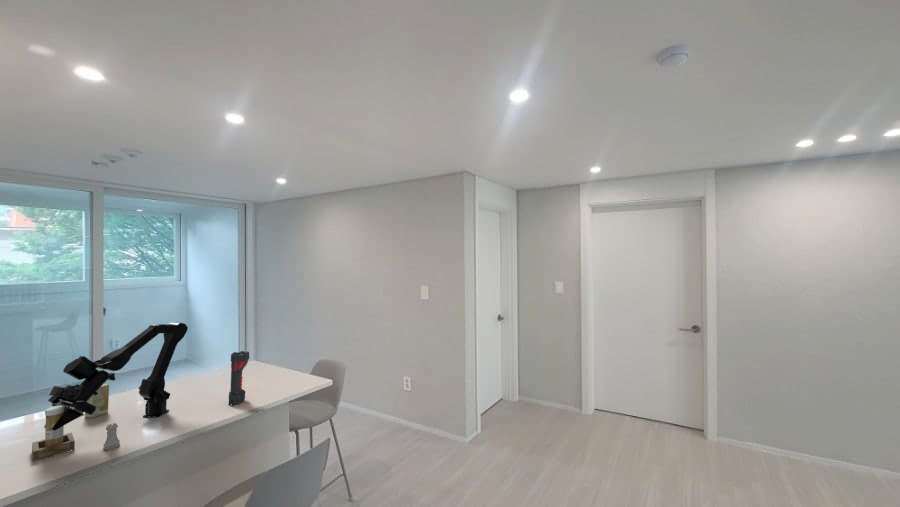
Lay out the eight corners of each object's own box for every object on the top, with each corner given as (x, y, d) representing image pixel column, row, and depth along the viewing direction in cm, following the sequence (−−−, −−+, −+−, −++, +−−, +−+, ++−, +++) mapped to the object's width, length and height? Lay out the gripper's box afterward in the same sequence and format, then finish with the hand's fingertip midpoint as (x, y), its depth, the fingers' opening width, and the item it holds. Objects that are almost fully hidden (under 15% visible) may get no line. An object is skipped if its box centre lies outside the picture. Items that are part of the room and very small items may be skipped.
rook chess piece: (110, 444, 131) (110, 422, 131) (123, 444, 131) (123, 421, 132) (99, 451, 127) (99, 427, 127) (113, 450, 127) (113, 427, 127)
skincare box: (92, 418, 153) (92, 388, 153) (84, 417, 154) (84, 388, 154) (109, 412, 159) (109, 383, 159) (101, 411, 160) (101, 383, 160)
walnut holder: (71, 441, 133) (71, 432, 133) (74, 450, 127) (74, 440, 127) (32, 451, 126) (32, 442, 126) (33, 461, 120) (33, 451, 120)
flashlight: (250, 397, 175) (250, 349, 176) (246, 403, 168) (247, 353, 168) (231, 399, 173) (232, 351, 173) (227, 406, 166) (228, 355, 166)
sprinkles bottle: (42, 448, 126) (42, 408, 126) (60, 442, 130) (61, 404, 130) (47, 451, 124) (48, 411, 124) (66, 444, 128) (66, 406, 128)
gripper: (55, 372, 134) (10, 415, 124) (85, 378, 127) (40, 423, 117) (83, 386, 141) (43, 428, 131) (112, 393, 135) (72, 437, 124)
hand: (49, 428), depth 126 cm, fingers closed on sprinkles bottle, 4 cm apart
